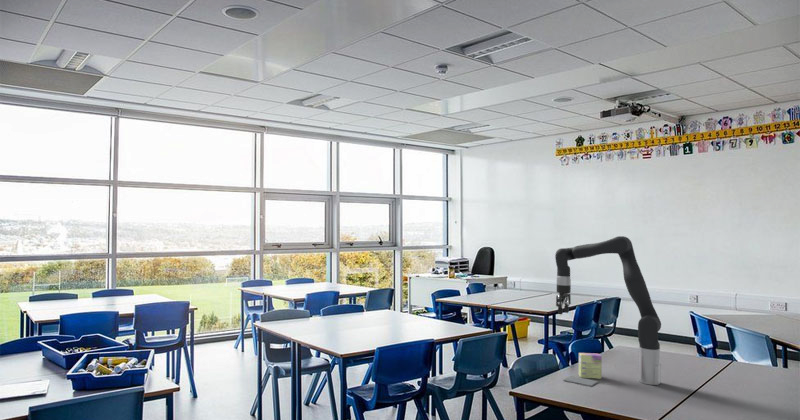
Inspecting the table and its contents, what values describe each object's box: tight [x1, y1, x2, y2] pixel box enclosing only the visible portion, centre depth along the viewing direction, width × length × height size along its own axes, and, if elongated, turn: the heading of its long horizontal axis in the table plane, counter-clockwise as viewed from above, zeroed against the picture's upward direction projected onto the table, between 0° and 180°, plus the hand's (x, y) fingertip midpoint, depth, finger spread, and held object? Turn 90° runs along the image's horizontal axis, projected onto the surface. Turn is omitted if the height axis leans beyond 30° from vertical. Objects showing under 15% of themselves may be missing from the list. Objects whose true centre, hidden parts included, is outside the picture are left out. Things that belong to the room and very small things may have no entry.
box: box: [577, 352, 603, 380], centre depth 276 cm, size 10×6×12 cm, turn 84°
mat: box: [563, 375, 600, 388], centre depth 267 cm, size 14×10×1 cm
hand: (563, 313), depth 297 cm, fingers open, 8 cm apart
